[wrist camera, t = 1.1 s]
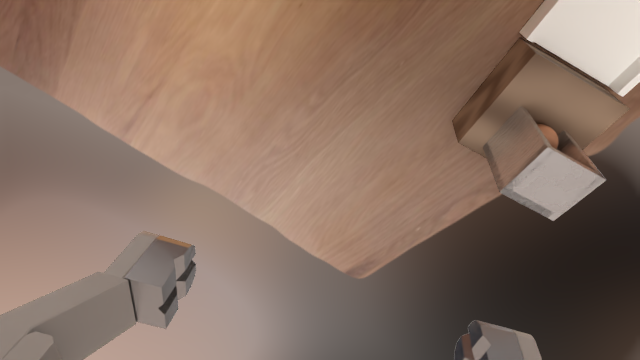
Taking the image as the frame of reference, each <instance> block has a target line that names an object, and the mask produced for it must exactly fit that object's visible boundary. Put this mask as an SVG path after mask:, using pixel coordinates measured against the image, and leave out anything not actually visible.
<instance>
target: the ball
mask: <svg viewBox="0 0 640 360" xmlns="http://www.w3.org/2000/svg"><path fill="white" fill-rule="evenodd" d="M537 125H538V127H539V128H540V130H541V131H542V133H543V134H544V136H545V137H546V139H547V140H548V142H549V143H550V144H551V146H552V147H553V148H555V149H557V147H558V142H559V141H558V136H557V134H556V132H555V131H554V130H553V129H552V128H551V127H549V126H547V125H543V124H537Z"/></svg>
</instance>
